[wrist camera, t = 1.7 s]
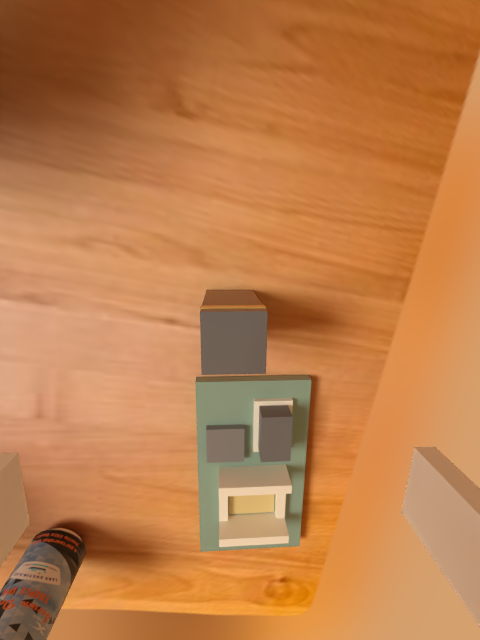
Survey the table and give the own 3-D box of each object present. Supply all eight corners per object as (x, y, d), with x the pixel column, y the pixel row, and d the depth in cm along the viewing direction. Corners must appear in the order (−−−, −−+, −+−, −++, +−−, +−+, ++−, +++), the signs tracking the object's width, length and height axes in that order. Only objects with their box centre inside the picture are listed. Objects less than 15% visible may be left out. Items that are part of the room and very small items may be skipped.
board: (196, 377, 32) (193, 396, 27) (308, 374, 32) (320, 393, 28) (201, 542, 37) (198, 578, 33) (297, 536, 38) (306, 571, 34)
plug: (206, 289, 29) (199, 310, 20) (252, 289, 30) (268, 310, 20) (207, 334, 31) (200, 375, 21) (251, 333, 31) (266, 374, 21)
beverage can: (96, 525, 35) (36, 663, 24) (79, 571, 37) (14, 722, 25) (42, 511, 34) (-48, 648, 23) (27, 559, 36) (-66, 709, 24)
